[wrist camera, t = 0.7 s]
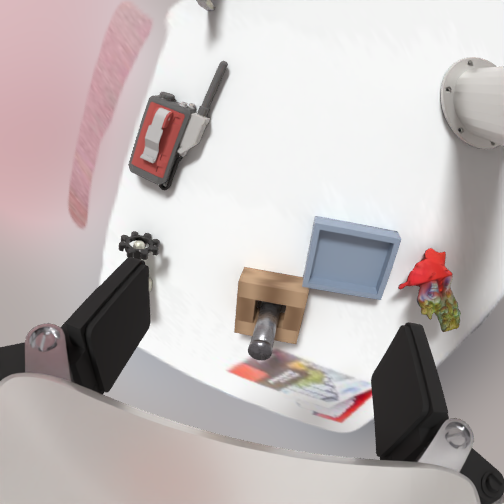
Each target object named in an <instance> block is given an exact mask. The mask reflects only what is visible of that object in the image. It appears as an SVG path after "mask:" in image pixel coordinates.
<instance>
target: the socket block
mask: <svg viewBox="0 0 504 504" xmlns="http://www.w3.org/2000/svg"><path fill="white" fill-rule="evenodd" d="M302 283H303V277H298V276H292V275H286V274H281V273H275V272H269V271H264V270H258V269H253V268H247V267H244V269H243V272H242V274H241V276H240V279H239V282H238V294H237V306H236V318H235V331H234V332H235V333H240V334H245V335H250V336H253V332H254V329H255V325H256V322H257V318H258V315H259V311H260V308H257V305H258V300H259V301H265V302H270V303H275V304H281V305H286V309H285V313H283V312H280V313H279V318H278V323H277V328H276V333H275V338H274V340H276V341H281V342H287V343H293V344H296V342H297V338H298V334H299V330H300V326H301V322H302V318H303V314H304V310H305V306H306V302H307V298H308V293H309V288H307V287H302Z"/></svg>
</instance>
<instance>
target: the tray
mask: <svg viewBox="0 0 504 504" xmlns="http://www.w3.org/2000/svg"><path fill="white" fill-rule="evenodd" d="M400 242H401V238H400V236H399V234H398V232H396V231H391V230H386V229H381V228H376V227H371V226H366V225H361V224H356V223H351V222H345V221H340V220H335V219H329V218H323V217H318V216H315V219H314V225H313V230H312V235H311V241H310V246H309V251H308V256H307V261H306V266H305V271H304V275H303V283H302V287H307V288H313V289H318V290H324V291H330V292H336V293H342V294H348V295H354V296H360V297H366V298H372V299H378V300H381V298H382V295H383V292H384V289H385V287H386V284H387V281H388V278H389V275H390V272H391V269H392V266H393V263H394V260H395V257H396V254H397V251H398V248H399V245H400Z"/></svg>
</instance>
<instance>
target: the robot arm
mask: <svg viewBox="0 0 504 504" xmlns="http://www.w3.org/2000/svg"><path fill="white" fill-rule="evenodd" d="M468 63H469V65H468ZM446 88H447V89H448V91H446ZM441 104H442V109H443V112H444V116H445V118H446V120H447V122H448V124H449V126H450V127H451V129H452V130H453V132H454V133H455V134H456V135H457V136H458V137H459V138H460V139H461V140H463V141H464V142H465V143H467V144H469V145H471V146H474V147H477V148H481V149H491V148H495V147H497V146H499V145H502V146H504V66H502V67H497V66H496V65H494V64H493V63H491V62H489V61H488V60H485V59H482V58H476V57H470V58H464V59H461V60H459V61H457V62H455V63H454V64H453V65H452V66H451V67H450V68H449V69H448V71H447V72H446V74H445V76H444V78H443V81H442V86H441ZM458 129H460V131H458ZM149 326H150V300H149V268H148V266H146V265H145V262H144V261H143V260H139V259H136V258H132V257H129V258H127V259H126V260H125V261H124V262H123V263H122V264H121V265H120V266H119V267H118V268H117V269H116V270H115V271H114V272H113V273H112V274H111V275H110V276H109V277H108V278H107V279H106V280H105V281H104V282H103V284H102V285H100V286H99V287H98V288H97V289H96V290H95V291H94V292H93V293H92V294H91V295H90V296H89V297H88V298H87V299H86V300H85V301H84V302H83V304H82V305H81V306H80V307H79V308H78V309H77V310H76V311H75V312H74V313H73V314H72V316H71V317H70V318H69V319H68V320H67V321H66V322H65V323H64V324H63V325H62V327H61V328H60V327H59V326H57V325H55V324H50V323H47V324H41V325H38V326H36V327H34V328H33V329H31V330H30V331H29V333H28V334H27V336H26V340H25V343H20V344H15V345H10V346H5V347H0V504H504V495H503V493H504V478H503V476H502V474H501V473H500V472H499V471H498V470H497V469H496V468H494V467H493V466H492V465H491V464H490V463H489V462H488V461H486V460H485V459H484V458H483V457H482V456H481V455H480V454H478V453H477V452H476V451H475V450H474V449H473V448H472V446H473V443H474V436H473V432H472V430H471V429H470V427H469V425H467V424H466V423H465V422H464V421H462V420H460V419H457V418H451V419H449V417H448V410H447V406H446V402H445V398H444V394H443V390H442V387H441V383H440V380H439V376H438V373H437V369H436V366H435V363H434V359H433V356H432V353H431V350H430V347H429V344H428V341H427V338H426V335H425V332H424V329H423V326H422V325H419V324H414V323H409V322H408V323H406V324H405V326H404V325H402V326H401V327H400V328H399V330H398V332H397V334H396V335H395V337H394V339H393V341H392V342H391V344H390V346H389V348H388V349H387V351H386V353H385V355H384V356H383V358H382V360H381V361H380V363H379V365H378V366H377V368H376V369H375V371H374V373H373V375H372V379H371V386H372V396H373V408H374V420H375V437H376V454H377V456H379V457H380V460H373V459H361V458H349V457H339V456H330V455H322V454H315V453H308V452H301V451H295V450H289V449H283V448H277V447H272V446H267V445H262V444H258V443H253V442H248V441H244V440H240V439H236V438H231V437H227V436H223V435H220V434H216V433H212V432H209V431H205V430H202V429H198V428H194V427H191V426H187V425H185V424H181V423H178V422H175V421H172V420H169V419H166V418H163V417H160V416H157V415H154V414H152V413H149V412H146V411H143V410H141V409H138V408H135V407H133V406H130V405H127V404H124V403H122V402H119V401H117V400H114V399H112V398H110V397H107V396H105V395H103V393H104V392H109V391H110V389H111V388H112V386H113V384H114V383H115V381H116V379H117V378H118V376H119V375H120V373H121V371H122V370H123V368H124V367H125V365H126V363H127V362H128V360H129V359H130V357H131V356H132V354H133V352H134V351H135V349H136V348H137V346H138V345H139V343H140V341H141V340H142V338H143V337H144V335H145V334H146V332H147V330H148V329H149Z"/></svg>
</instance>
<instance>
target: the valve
mask: <svg viewBox="0 0 504 504" xmlns="http://www.w3.org/2000/svg"><path fill="white" fill-rule="evenodd" d="M135 240H140V241H136V242H134V245H133V247H131V246H130V245H129V243H130V242H132V241H135ZM142 241H143V242H142ZM147 243H148V244H149V247H148V248H145V247H146V244H147ZM154 245H155V246H154ZM158 247H159V240H158V239H153V240H151V234H149V233H145V234H144V236H140V235H138V232H135V231H134V232H132V233H131V237H128V236H127V235H122V236H121V242H120V243H119V250H120V251H123V249H124V248H125V251H126V252H127V257H128V258H129V257H132V258H136V259H139V260H141V259H143V260H146V259H148V253H149V252H153V255H158V250H159V248H158ZM151 289H152V280H151V279H150V278H149V292H150V290H151Z"/></svg>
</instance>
